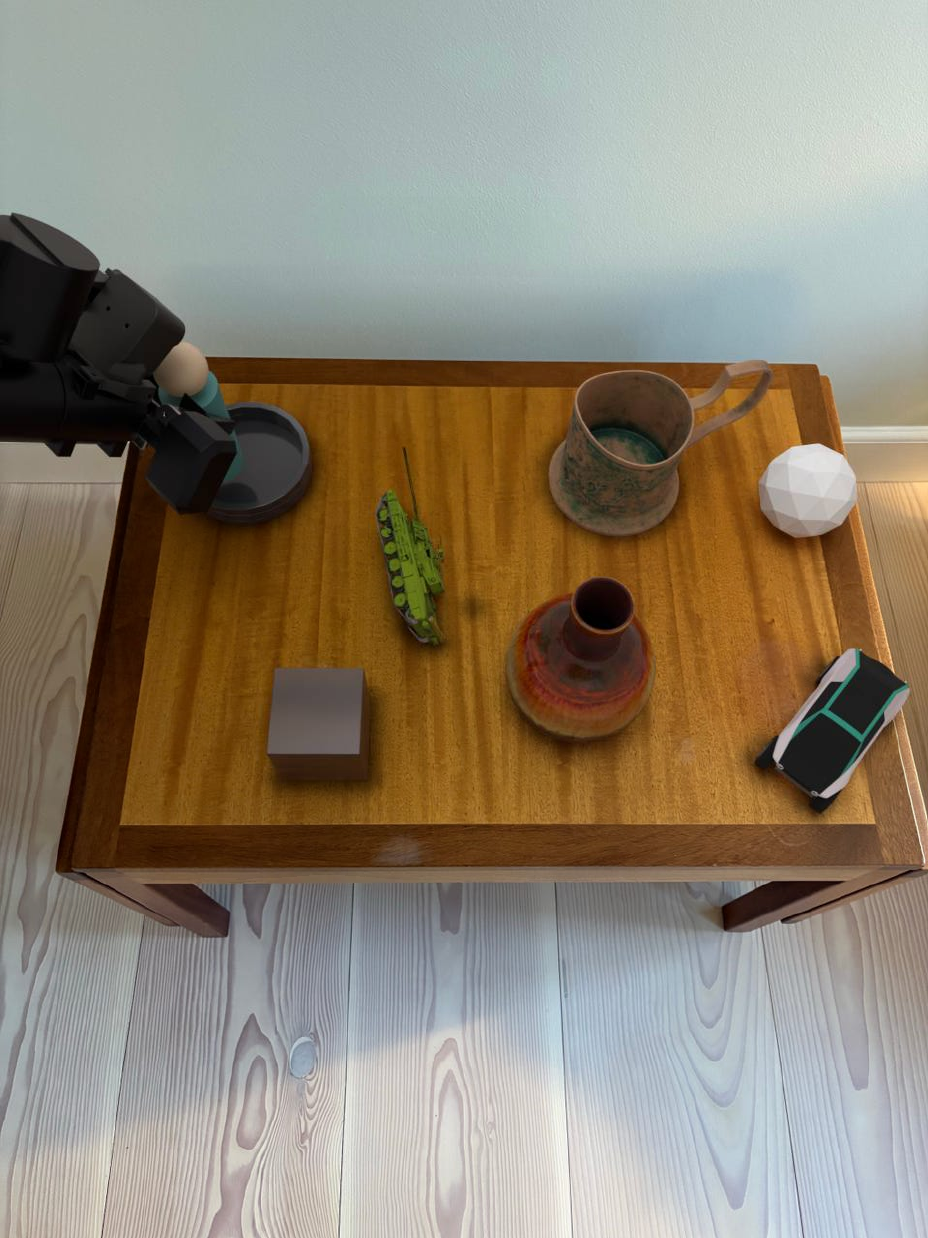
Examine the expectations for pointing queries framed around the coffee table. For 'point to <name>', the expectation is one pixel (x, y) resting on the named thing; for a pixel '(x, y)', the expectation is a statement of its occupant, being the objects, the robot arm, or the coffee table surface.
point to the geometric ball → (807, 490)
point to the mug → (635, 446)
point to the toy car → (836, 726)
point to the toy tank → (411, 565)
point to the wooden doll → (193, 388)
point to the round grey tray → (264, 466)
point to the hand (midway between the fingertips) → (214, 409)
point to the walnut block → (320, 724)
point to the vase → (581, 663)
